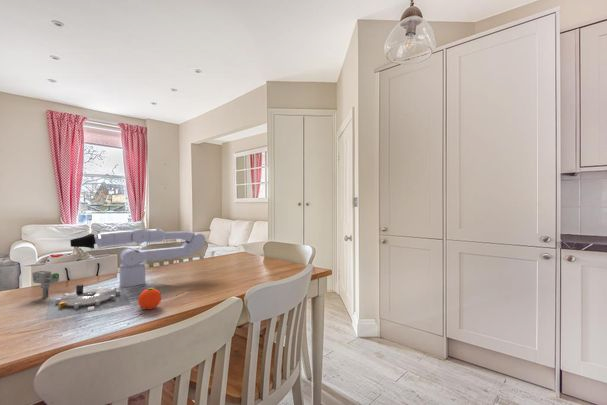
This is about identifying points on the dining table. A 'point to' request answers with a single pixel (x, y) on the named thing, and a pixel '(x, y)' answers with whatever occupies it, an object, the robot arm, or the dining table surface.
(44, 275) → the mechanical component
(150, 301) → the clementine
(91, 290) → the sprocket
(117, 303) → the index board
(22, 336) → the dining table surface
